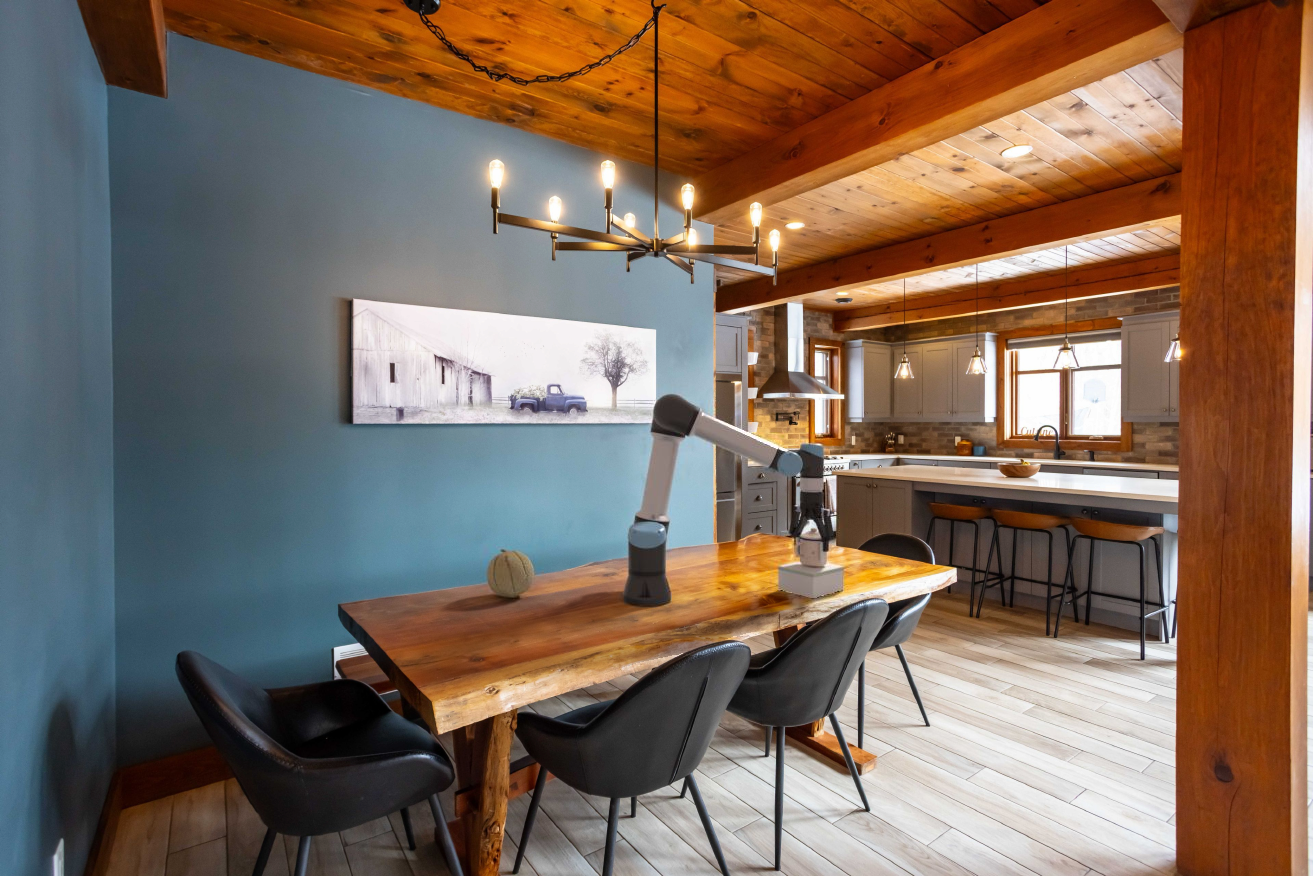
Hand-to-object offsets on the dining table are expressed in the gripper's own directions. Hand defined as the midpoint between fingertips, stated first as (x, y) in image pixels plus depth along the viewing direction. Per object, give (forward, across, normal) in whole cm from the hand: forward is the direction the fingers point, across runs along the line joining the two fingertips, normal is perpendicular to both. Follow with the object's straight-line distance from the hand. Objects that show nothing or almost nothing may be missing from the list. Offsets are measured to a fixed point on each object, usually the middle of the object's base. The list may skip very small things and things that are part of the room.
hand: (810, 558), depth 217 cm
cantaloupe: (+11, +55, +80) cm, 98 cm away
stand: (+10, 0, 0) cm, 10 cm away
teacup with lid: (+2, 0, 0) cm, 2 cm away
